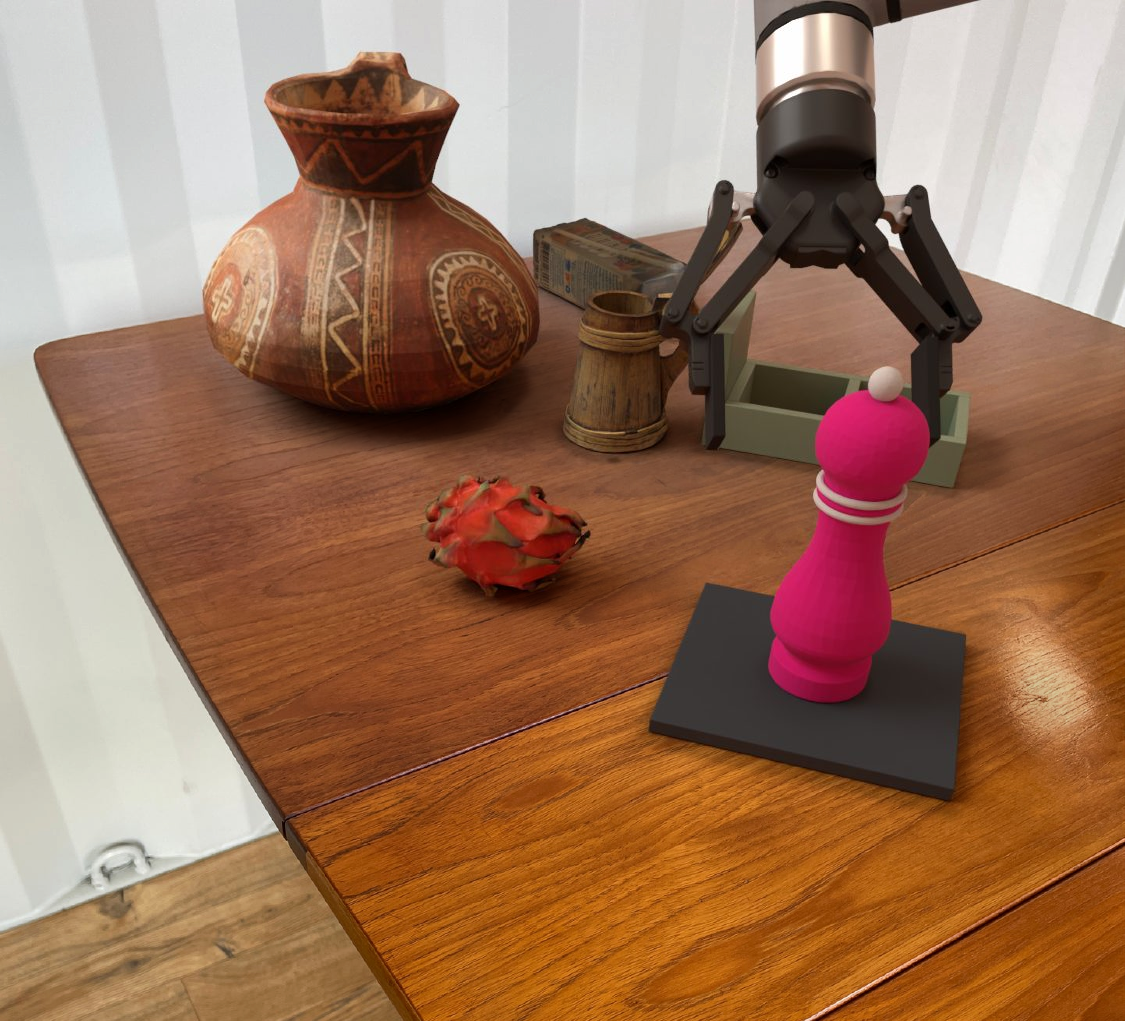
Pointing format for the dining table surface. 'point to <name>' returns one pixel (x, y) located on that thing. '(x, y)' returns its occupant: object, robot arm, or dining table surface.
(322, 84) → the jug
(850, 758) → the mat
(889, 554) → the dining table surface
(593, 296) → the wooden mug
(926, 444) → the pepper mill
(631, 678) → the dining table surface
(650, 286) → the beverage carton
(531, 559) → the dragon fruit
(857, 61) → the robot arm
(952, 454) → the spice rack
